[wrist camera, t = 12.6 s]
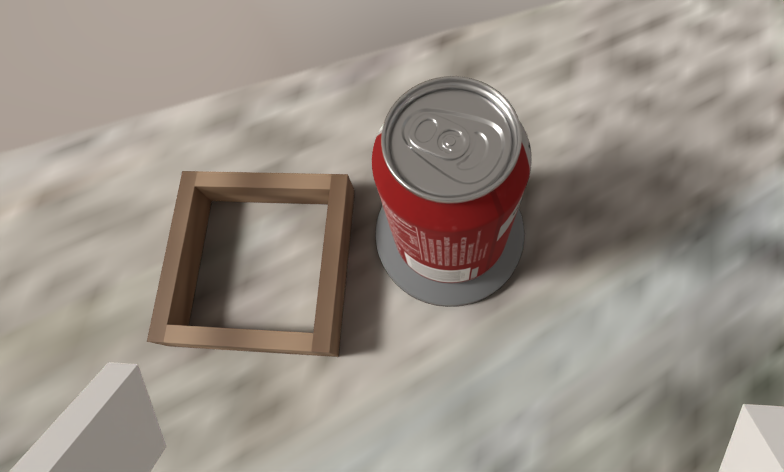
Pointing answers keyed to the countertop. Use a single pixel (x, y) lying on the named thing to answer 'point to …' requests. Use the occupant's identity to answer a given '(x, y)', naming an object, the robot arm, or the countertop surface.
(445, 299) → the coaster
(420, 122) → the soda can
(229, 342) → the frame
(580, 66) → the countertop surface
